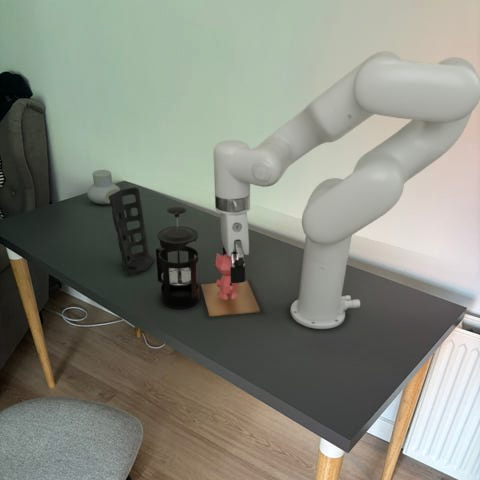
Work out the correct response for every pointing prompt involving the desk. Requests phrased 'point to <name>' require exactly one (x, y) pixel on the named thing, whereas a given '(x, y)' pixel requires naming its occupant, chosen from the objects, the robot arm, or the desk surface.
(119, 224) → the holder
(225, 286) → the cat figurine
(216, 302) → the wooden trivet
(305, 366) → the desk surface
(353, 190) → the robot arm
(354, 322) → the desk surface
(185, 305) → the french press
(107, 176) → the air freshener
